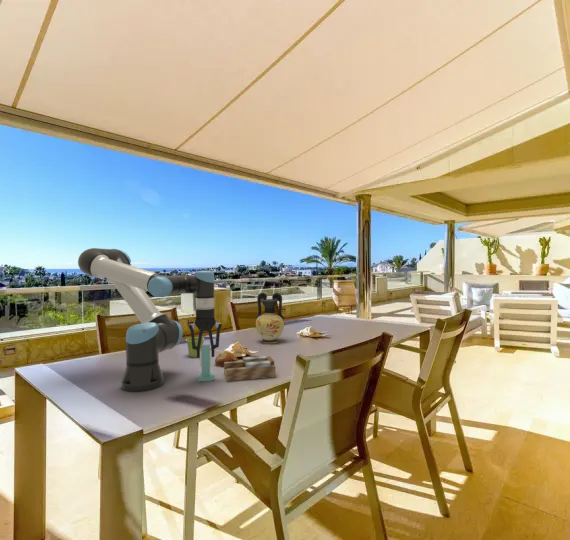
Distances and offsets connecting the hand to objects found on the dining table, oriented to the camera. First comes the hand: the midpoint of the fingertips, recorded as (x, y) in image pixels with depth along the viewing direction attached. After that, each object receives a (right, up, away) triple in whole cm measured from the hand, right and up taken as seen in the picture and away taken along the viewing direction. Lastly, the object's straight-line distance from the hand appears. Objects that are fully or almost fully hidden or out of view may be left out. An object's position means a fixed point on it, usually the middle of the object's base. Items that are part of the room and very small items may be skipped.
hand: (205, 365), depth 143 cm
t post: (0, -6, 0) cm, 6 cm away
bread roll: (+5, -6, +21) cm, 22 cm away
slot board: (+17, -5, +5) cm, 19 cm away
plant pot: (-14, -5, +37) cm, 40 cm away
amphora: (+23, -5, +68) cm, 72 cm away
